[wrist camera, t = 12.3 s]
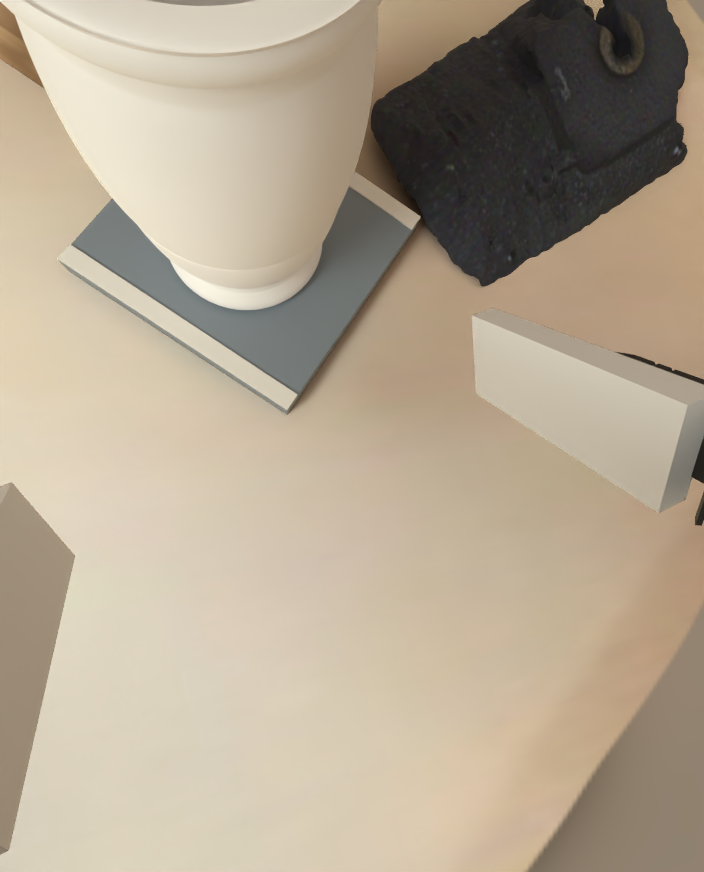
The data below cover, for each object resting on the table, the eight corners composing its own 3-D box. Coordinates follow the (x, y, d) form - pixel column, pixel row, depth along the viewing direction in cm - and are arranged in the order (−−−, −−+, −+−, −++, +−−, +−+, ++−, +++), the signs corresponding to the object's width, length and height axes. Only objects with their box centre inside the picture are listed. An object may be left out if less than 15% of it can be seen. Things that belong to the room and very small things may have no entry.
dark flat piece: (330, 115, 28) (338, 38, 23) (572, -10, 32) (621, -97, 27) (471, 308, 27) (509, 269, 22) (698, 155, 31) (769, 95, 27)
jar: (309, 356, 23) (343, 121, 9) (117, 295, 22) (-213, -88, 8) (361, 189, 25) (462, -240, 10) (185, 125, 24) (24, -449, 9)
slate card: (69, 271, 23) (56, 258, 22) (222, 97, 26) (219, 76, 25) (287, 414, 24) (287, 410, 23) (414, 230, 27) (420, 216, 25)
